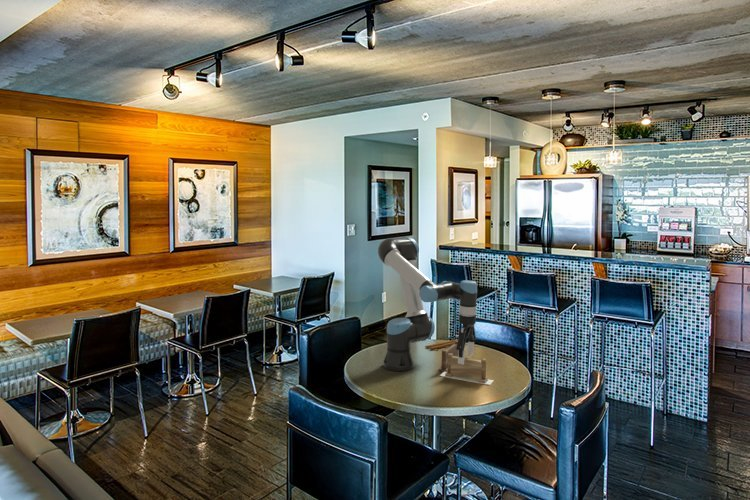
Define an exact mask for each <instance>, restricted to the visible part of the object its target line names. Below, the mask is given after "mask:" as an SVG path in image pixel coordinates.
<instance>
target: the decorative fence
mask: <svg viewBox="0 0 750 500" xmlns="http://www.w3.org/2000/svg"><path fill="white" fill-rule="evenodd" d="M455 341H458V339H453V340H452V339H451V340H447V341H443V342H439V343H434V344H429V345H425V346H424V347H425V348H426V349H429V350H431V351H432V350H433V351H435V350H436V351H437V352H439V349H441V348H445V349H448V348H449V347H450V346H452V345H453V344H455Z"/></svg>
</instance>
